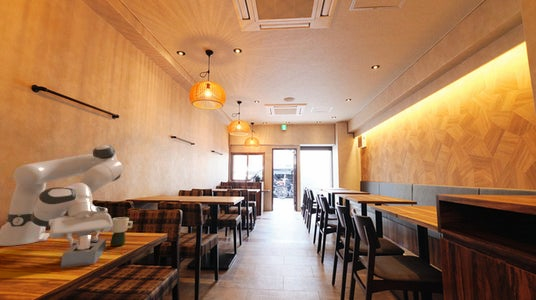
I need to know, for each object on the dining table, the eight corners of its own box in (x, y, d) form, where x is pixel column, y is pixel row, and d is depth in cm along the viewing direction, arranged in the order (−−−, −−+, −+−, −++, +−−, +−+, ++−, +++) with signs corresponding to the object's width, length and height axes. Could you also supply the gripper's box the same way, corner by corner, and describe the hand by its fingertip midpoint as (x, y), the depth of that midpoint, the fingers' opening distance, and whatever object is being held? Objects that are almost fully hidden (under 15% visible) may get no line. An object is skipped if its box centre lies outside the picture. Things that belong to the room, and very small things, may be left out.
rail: (78, 251, 100) (79, 240, 100) (105, 249, 104) (106, 238, 105) (60, 268, 82) (62, 253, 82) (94, 264, 86) (95, 250, 87)
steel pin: (77, 260, 89) (80, 234, 91) (89, 259, 91) (92, 233, 92) (73, 264, 86) (77, 237, 87) (86, 262, 87) (89, 236, 89)
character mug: (130, 242, 117) (133, 216, 119) (130, 245, 111) (133, 218, 113) (104, 244, 111) (108, 217, 113) (103, 248, 105) (106, 220, 107)
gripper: (50, 212, 87) (50, 243, 80) (111, 208, 103) (116, 233, 96) (46, 222, 89) (46, 253, 82) (106, 216, 105) (111, 242, 98)
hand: (84, 242), depth 89 cm, fingers open, 5 cm apart
